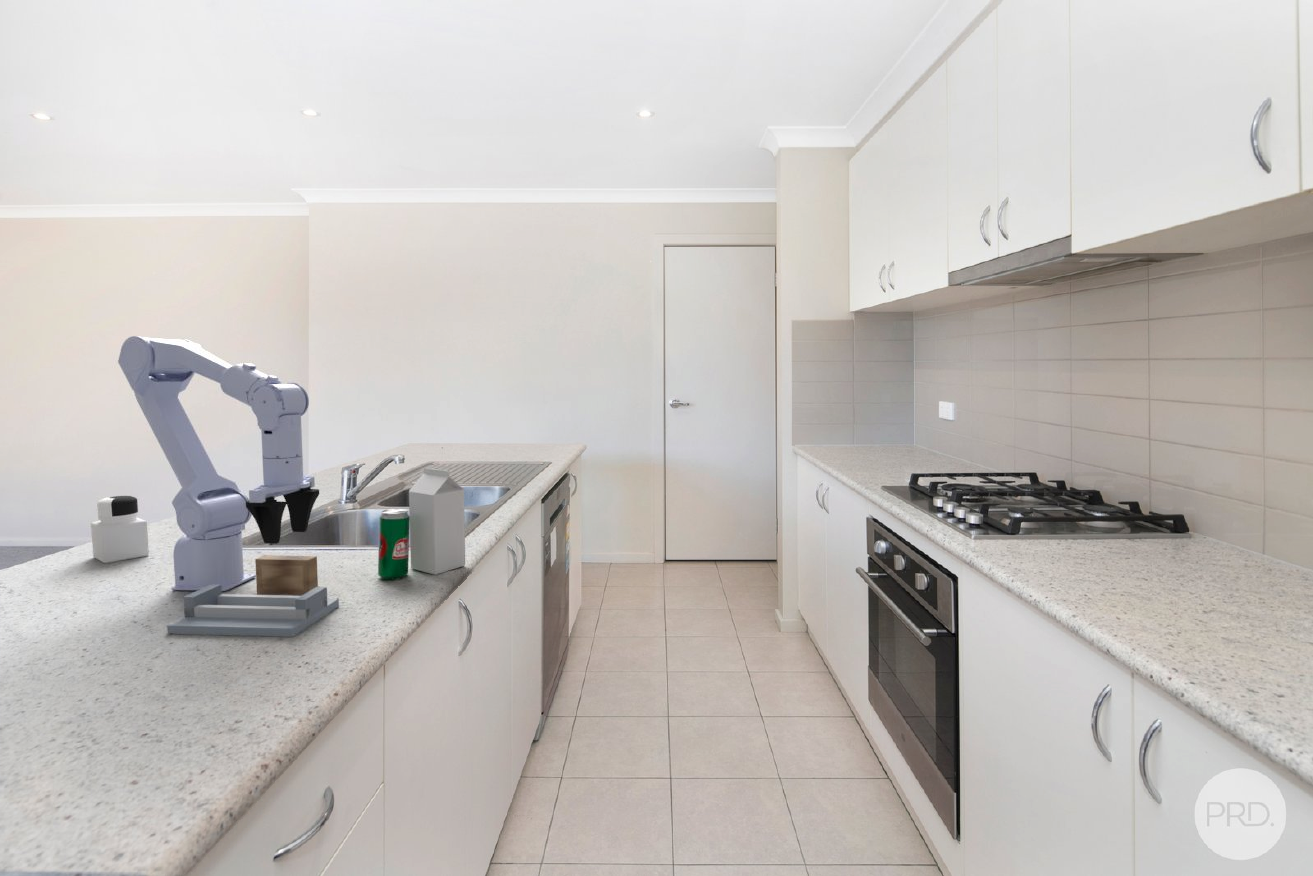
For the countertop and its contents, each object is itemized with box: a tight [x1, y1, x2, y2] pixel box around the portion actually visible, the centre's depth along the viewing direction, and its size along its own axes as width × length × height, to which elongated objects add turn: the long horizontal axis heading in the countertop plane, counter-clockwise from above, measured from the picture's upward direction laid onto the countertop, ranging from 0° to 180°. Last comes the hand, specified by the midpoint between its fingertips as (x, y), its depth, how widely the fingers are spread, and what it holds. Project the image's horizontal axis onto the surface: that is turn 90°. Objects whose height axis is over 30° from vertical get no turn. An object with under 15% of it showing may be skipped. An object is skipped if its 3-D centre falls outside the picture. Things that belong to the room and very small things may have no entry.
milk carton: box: [408, 467, 466, 575], centre depth 120 cm, size 7×7×19 cm
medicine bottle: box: [90, 495, 150, 564], centre depth 125 cm, size 7×7×12 cm
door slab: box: [254, 554, 319, 596], centre depth 106 cm, size 9×2×6 cm, turn 88°
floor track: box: [166, 584, 340, 638], centre depth 94 cm, size 18×12×4 cm, turn 88°
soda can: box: [377, 508, 410, 581], centre depth 115 cm, size 5×5×12 cm
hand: (286, 537), depth 106 cm, fingers open, 7 cm apart
